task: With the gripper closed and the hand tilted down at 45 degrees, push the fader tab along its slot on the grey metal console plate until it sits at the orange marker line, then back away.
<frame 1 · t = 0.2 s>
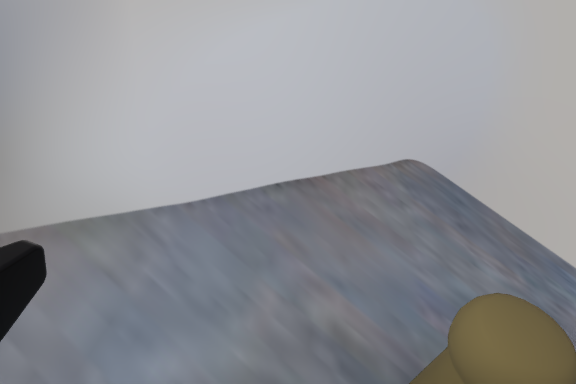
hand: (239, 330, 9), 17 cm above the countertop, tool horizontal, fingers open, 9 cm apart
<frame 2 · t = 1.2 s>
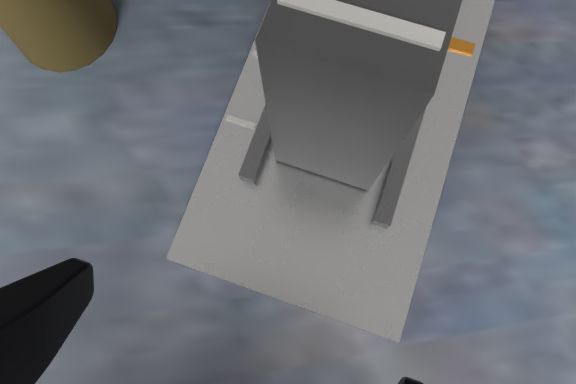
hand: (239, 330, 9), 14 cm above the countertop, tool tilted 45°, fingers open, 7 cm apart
fader tab: (340, 102, 17), point 7 cm above the countertop, slide at 0.0 cm
cork: (68, 27, 26), on the countertop
console plate: (340, 123, 24), on the countertop
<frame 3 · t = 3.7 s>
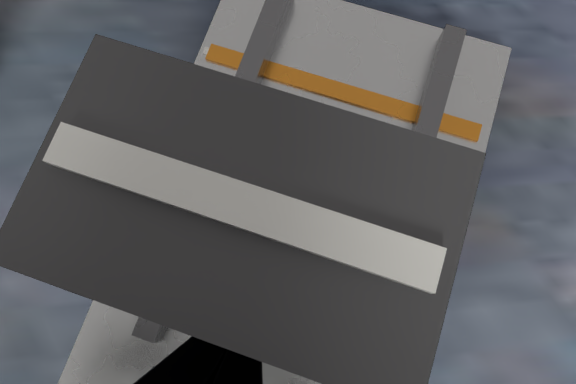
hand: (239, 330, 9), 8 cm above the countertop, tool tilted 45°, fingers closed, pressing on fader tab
fader tab: (269, 251, 10), point 7 cm above the countertop, slide at 0.7 cm, touching gripper
console plate: (291, 237, 17), on the countertop
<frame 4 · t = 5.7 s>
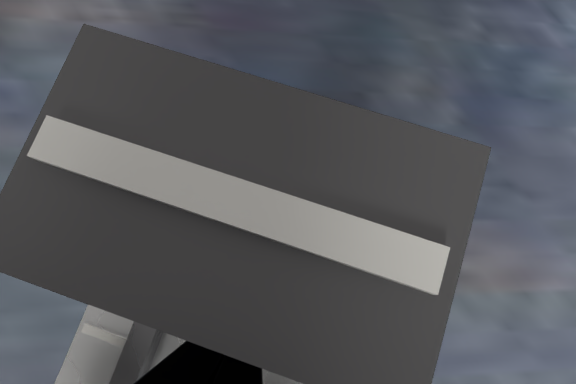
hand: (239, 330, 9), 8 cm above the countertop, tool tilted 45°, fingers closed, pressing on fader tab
fader tab: (267, 249, 10), point 7 cm above the countertop, slide at 8.2 cm, touching gripper
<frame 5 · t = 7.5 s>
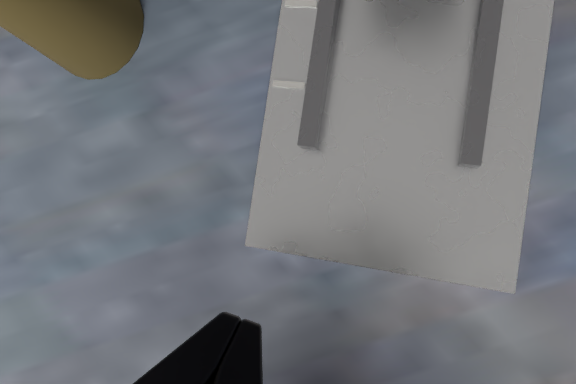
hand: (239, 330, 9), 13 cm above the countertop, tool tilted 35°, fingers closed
cork: (99, 29, 26), on the countertop
console plate: (400, 57, 21), on the countertop
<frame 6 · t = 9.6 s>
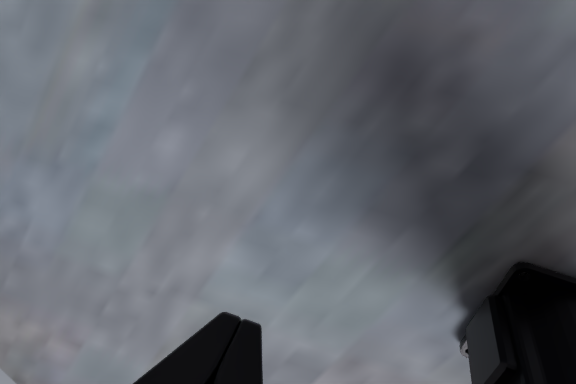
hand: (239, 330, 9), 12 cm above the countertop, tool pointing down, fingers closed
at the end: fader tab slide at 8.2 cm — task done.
